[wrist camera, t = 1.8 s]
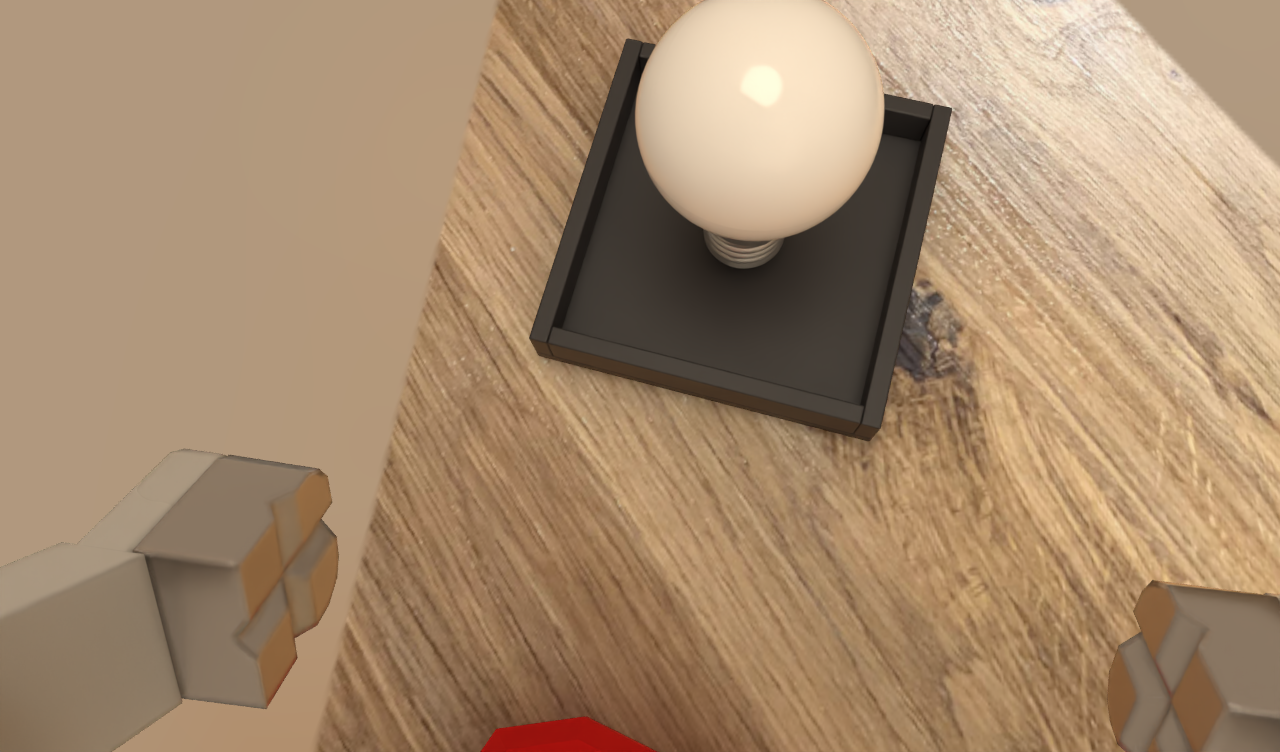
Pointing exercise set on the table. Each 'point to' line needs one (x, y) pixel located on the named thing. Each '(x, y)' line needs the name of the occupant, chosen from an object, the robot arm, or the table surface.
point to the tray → (742, 280)
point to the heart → (562, 738)
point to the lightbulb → (759, 120)
